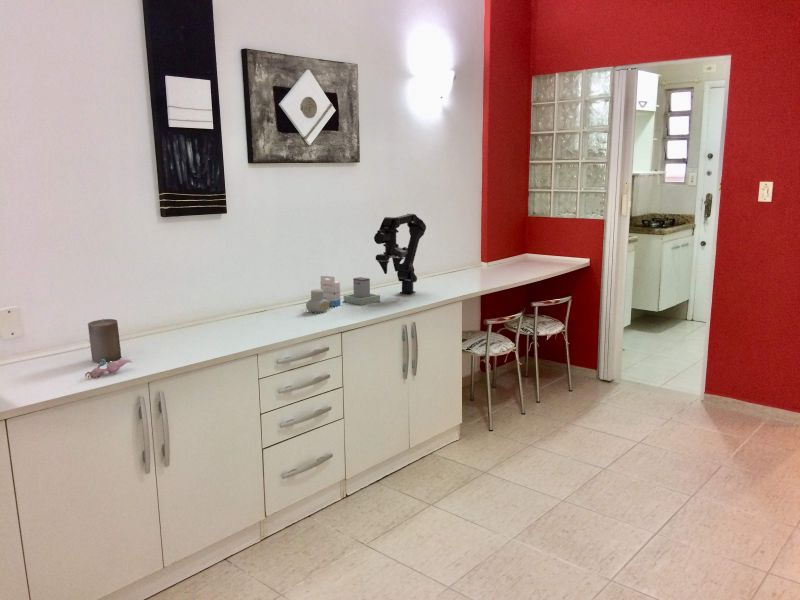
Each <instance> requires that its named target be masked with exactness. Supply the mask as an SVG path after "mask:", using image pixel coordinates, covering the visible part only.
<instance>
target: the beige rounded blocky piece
mask: <svg viewBox="0 0 800 600" xmlns="http://www.w3.org/2000/svg"><path fill="white" fill-rule="evenodd" d="M305 308H306V310H307V311H309V312H311V313H315V312H317V313H318V312H322V313H324V312H326V311H327V310H328V309H329V308H330V306H329V302H328V301H327V300H325V299H324V291H323V290H321V289H312V290H310V299H309V300H308V301H307V302H306V303H305ZM317 313H316V314H317ZM318 314H319V313H318Z"/></svg>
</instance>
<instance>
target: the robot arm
mask: <svg viewBox="0 0 800 600" xmlns="http://www.w3.org/2000/svg"><path fill="white" fill-rule="evenodd" d="M405 224H406V225H407V227H408V228H409V230H408V232H409V236H410V237H409V241H408V245H407V246H403V247H399V244H398V243H397V234H398V233H399V232H400V231H399V230H398V228H399V227H400V226H401V225H405ZM426 229H427V226H426V223H425V222H424V221H423V220H422V219H421V218H420V217H418V216H417V214H415V213H407V214H403V215H400V216H396V217H395V216H394V217H392V216H391V217H390V216H386V217H383V220H382V222H381V224H380V227H379V229H378V230H377V231H376V233H375V234H374V236H373V239H374V242H375V243H376V244H378V245H381V244H383V247H384V252H383V253H379V254H376V255H375V261H377V263H378V264H379V266H380V267H381V269H382V271H383V273H384V274H385V275H386V274H388V264H389V263H390V259H392V263H393V268H394V271H395V272H397V273H396V276H397V280H398V282H401V291H400V292H399V293H400V294H406V295H411V294H415V293H417V291H416V290H415V291H414V283H417V281H418V277H417V275H416V274H415V268H414V261H415V257H416V253H417V250H418V245H419V242H420V240H421V238H422V237H423V236H424V235H425V232H426ZM402 260H403V262H402V263H401V261H402Z"/></svg>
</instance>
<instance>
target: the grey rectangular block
mask: <svg viewBox="0 0 800 600" xmlns="http://www.w3.org/2000/svg"><path fill="white" fill-rule="evenodd" d="M352 279H353V281H352V283H353V284H352V285H353V294H354V297H356V298H366V297H370V293H371V288H370V287H371V286H370V285H371V283H370V282H371V281H370V280H371V279H370V278H369V277H362V276H360V277H353V278H352Z"/></svg>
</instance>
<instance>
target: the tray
mask: <svg viewBox="0 0 800 600" xmlns="http://www.w3.org/2000/svg"><path fill="white" fill-rule="evenodd" d="M342 298H343V302H344V301H346V302H345V303H349V302H350V303H349V304H353V303H354V305H358V304H359V306H363V304H364V305H368V303H369V304H372V303H373V302H374V303H379V302H381V294H377V293H376V294H375V293H371V292H370V297H366V298H356V297H354V293H350V294H345V295H343V297H342ZM378 301H379V302H378Z"/></svg>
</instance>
